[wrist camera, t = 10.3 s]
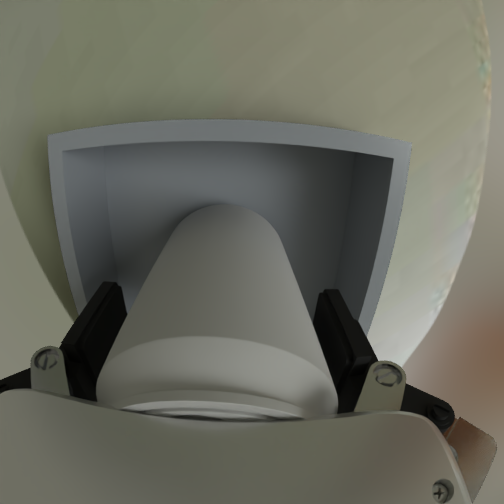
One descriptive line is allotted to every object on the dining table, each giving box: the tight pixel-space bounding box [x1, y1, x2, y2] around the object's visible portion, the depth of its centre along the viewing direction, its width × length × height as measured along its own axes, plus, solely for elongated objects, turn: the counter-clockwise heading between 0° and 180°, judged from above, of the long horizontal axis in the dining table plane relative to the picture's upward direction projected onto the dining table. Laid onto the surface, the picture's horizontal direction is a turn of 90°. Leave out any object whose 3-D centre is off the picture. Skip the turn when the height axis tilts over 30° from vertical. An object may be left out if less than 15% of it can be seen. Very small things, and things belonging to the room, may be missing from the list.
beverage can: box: [96, 204, 338, 421], centre depth 11 cm, size 6×6×12 cm
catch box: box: [48, 119, 412, 337], centre depth 15 cm, size 15×15×5 cm
